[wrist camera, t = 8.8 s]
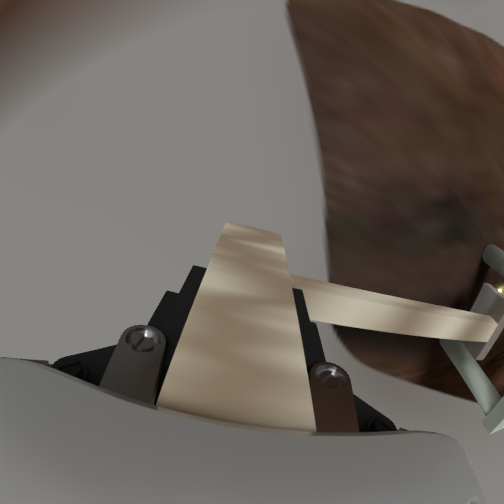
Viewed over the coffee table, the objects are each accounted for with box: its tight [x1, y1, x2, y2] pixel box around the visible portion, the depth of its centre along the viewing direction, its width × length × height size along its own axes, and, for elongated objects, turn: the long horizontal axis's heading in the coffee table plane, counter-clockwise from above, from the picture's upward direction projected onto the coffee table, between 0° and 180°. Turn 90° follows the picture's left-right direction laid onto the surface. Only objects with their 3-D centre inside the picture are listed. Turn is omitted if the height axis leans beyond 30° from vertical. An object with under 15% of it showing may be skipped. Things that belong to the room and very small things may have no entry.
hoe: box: [156, 222, 504, 432], centre depth 10 cm, size 21×5×14 cm, turn 77°
